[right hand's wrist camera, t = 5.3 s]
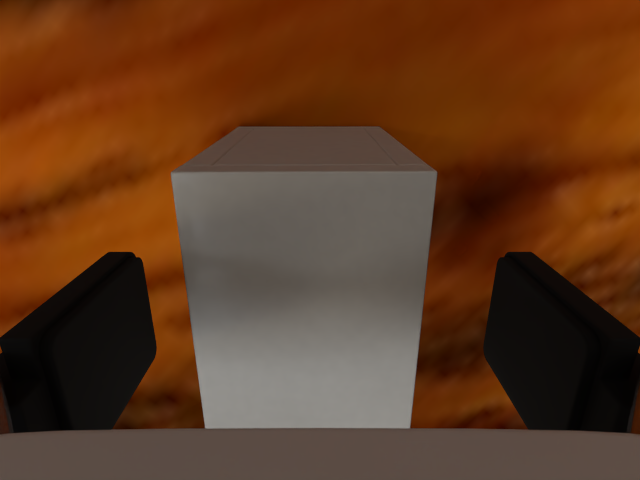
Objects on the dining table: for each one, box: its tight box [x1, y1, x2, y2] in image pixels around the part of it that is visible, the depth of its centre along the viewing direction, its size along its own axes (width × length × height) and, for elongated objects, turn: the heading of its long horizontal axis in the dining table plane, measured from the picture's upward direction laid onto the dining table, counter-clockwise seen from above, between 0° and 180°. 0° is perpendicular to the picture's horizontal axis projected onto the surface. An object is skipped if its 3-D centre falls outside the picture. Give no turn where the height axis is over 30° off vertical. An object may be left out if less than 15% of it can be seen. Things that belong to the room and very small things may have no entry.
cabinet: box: [171, 126, 437, 428], centre depth 17 cm, size 16×6×9 cm, turn 0°
